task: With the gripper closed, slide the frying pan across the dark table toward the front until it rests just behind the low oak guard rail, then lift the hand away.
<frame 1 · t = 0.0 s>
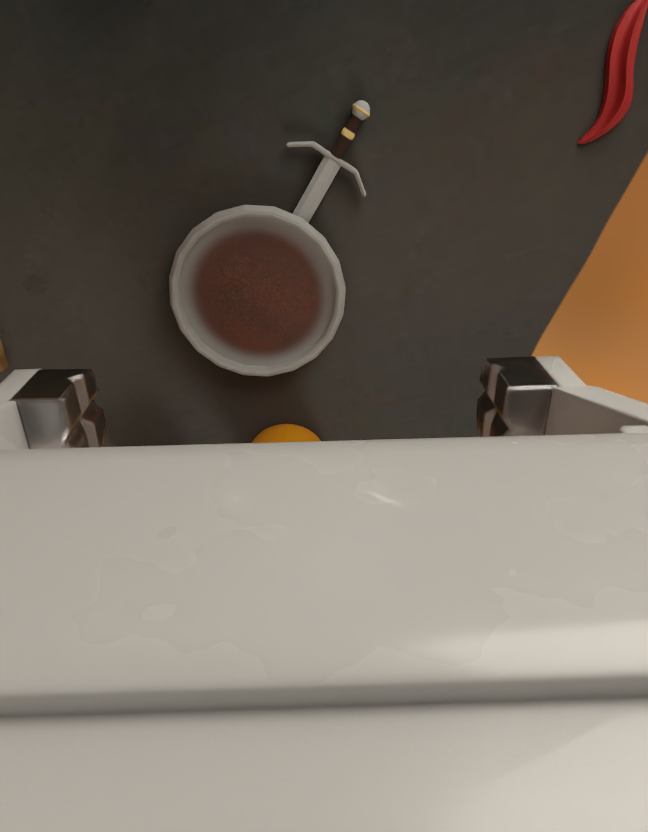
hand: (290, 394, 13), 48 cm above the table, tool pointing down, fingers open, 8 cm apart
beer bottle: (287, 455, 70), on the table
frying pan: (286, 242, 59), on the table
cayenne pepper: (616, 73, 53), on the table
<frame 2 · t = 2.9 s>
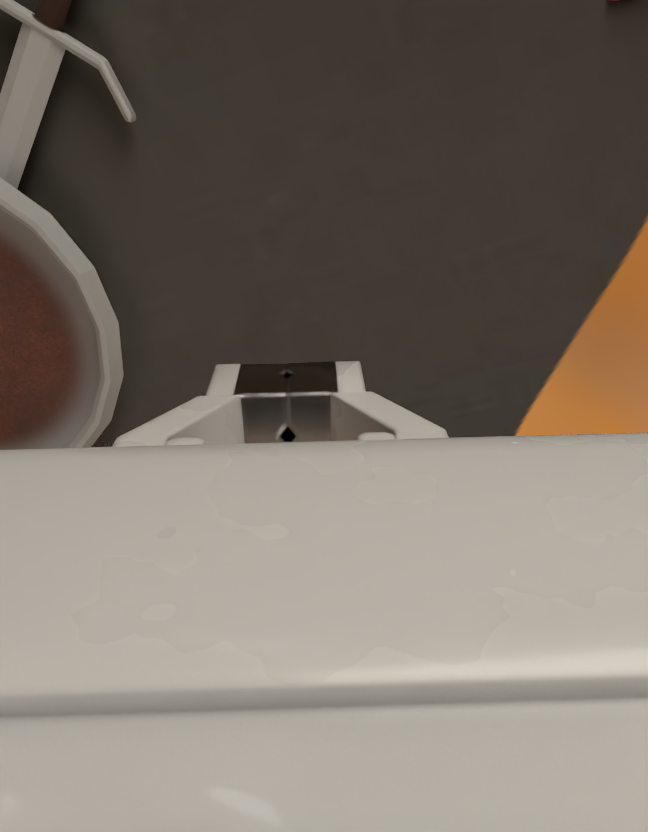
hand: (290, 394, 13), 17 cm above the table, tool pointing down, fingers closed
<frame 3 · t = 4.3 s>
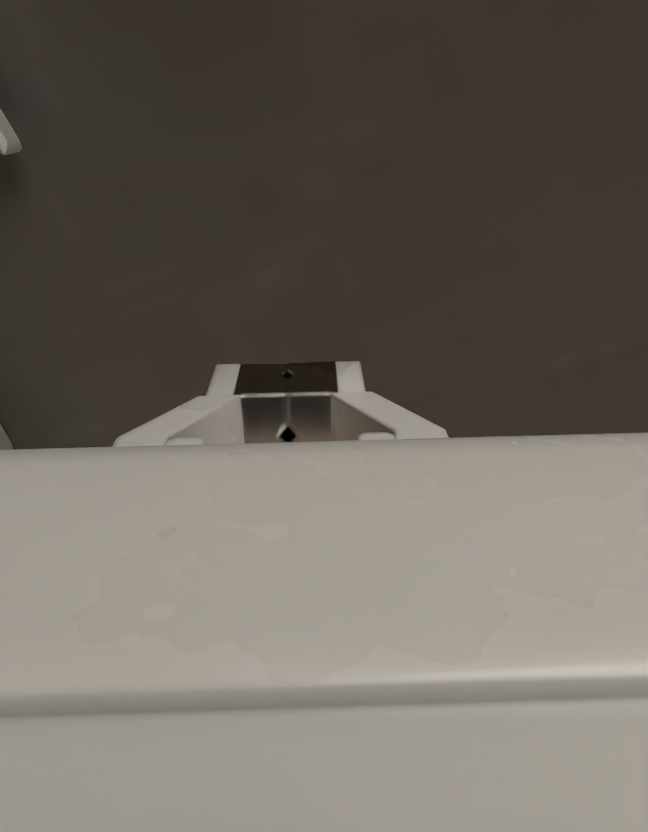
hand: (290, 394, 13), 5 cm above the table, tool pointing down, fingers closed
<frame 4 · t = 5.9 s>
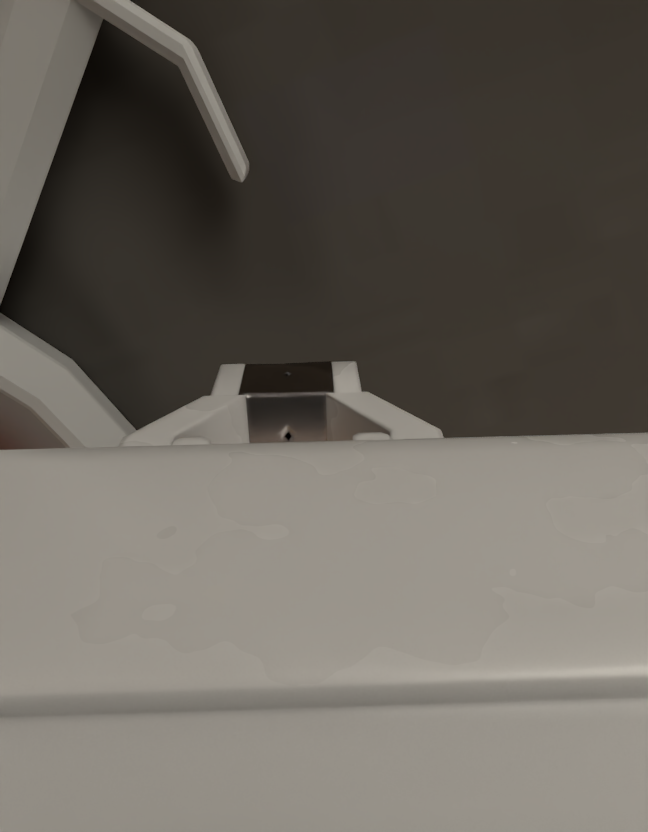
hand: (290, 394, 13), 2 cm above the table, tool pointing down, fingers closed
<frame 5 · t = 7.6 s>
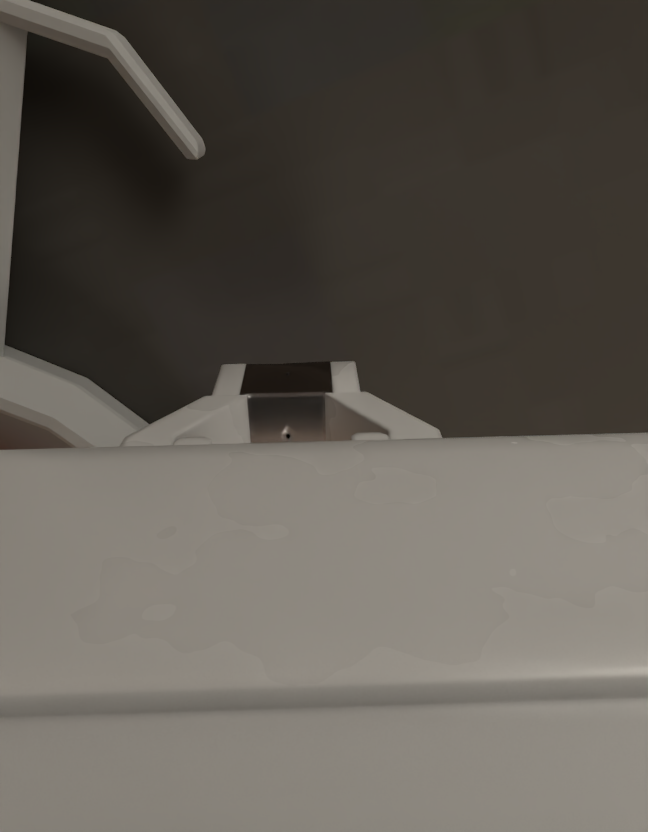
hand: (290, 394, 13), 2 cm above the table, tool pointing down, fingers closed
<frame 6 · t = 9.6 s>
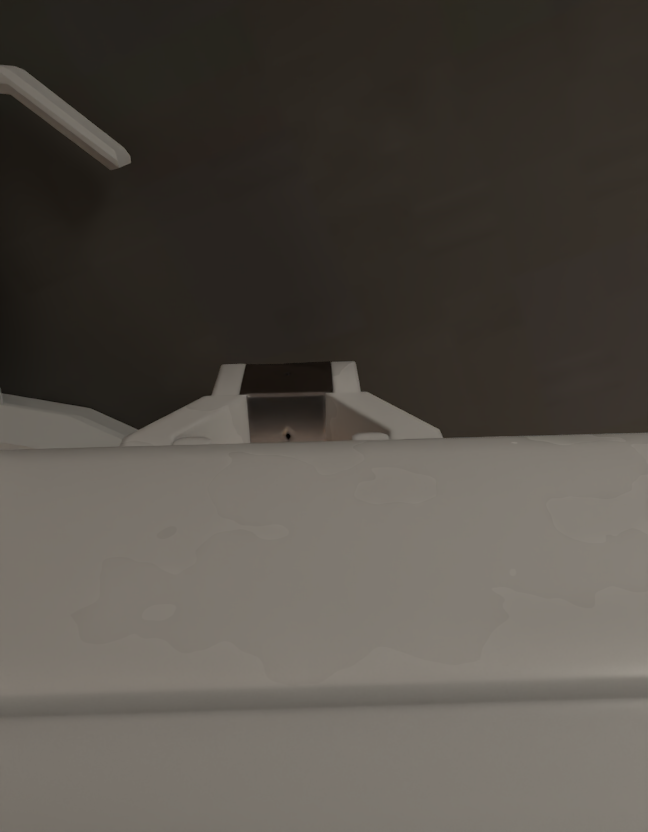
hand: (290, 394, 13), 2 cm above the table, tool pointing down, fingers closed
frying pan: (7, 465, 16), on the table, touching gripper
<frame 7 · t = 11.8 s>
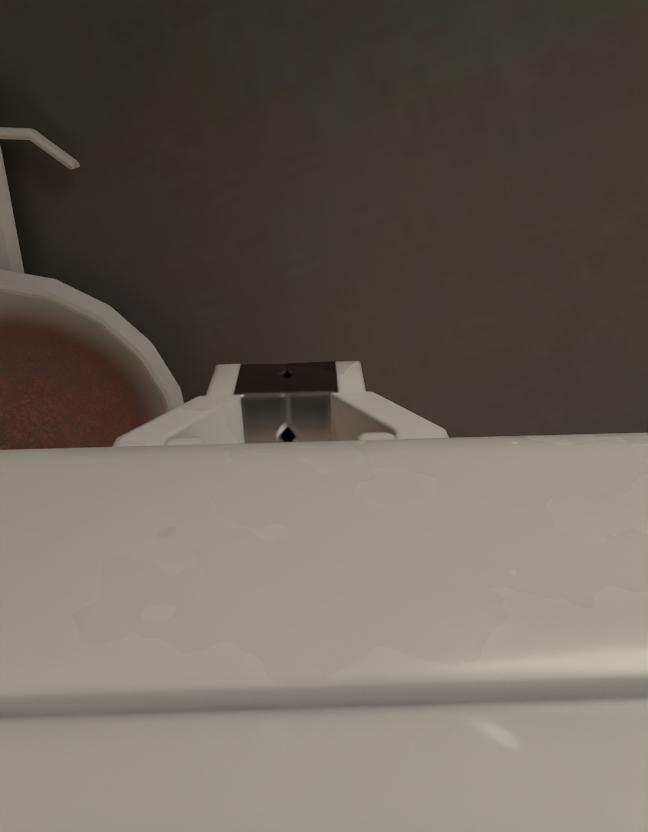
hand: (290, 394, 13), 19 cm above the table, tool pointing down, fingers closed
frying pan: (25, 318, 32), on the table
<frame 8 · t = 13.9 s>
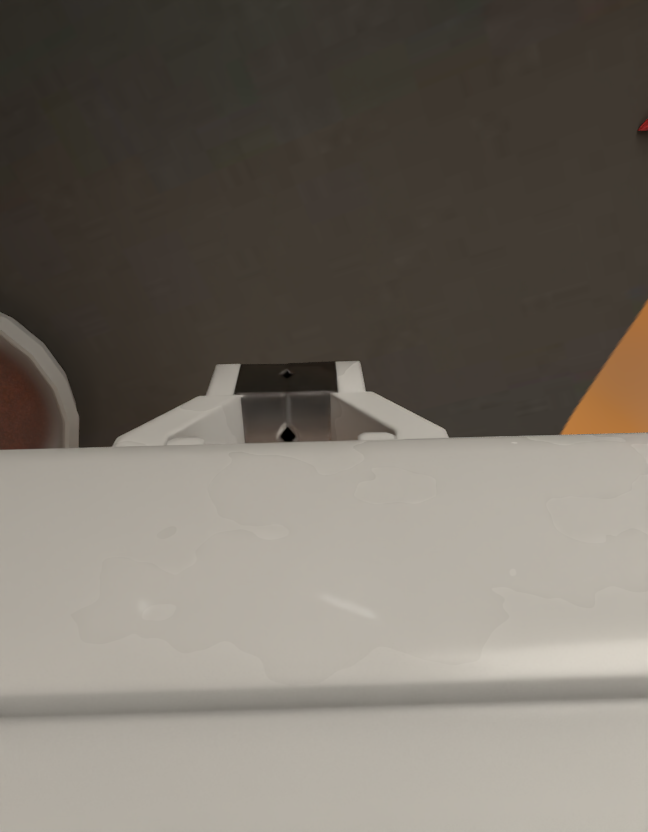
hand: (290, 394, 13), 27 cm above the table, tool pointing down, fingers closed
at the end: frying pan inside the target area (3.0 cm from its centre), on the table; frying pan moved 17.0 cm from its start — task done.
